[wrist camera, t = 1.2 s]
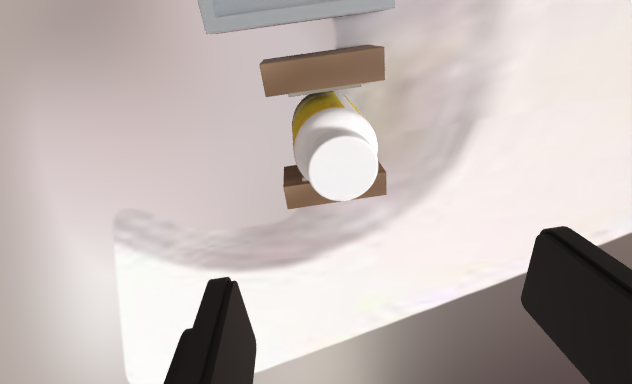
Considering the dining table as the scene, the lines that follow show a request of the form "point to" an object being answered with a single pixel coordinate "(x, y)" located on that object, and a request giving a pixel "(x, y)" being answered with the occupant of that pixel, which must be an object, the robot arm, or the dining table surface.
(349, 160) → the supplement bottle
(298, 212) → the dining table surface
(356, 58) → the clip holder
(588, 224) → the dining table surface
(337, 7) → the tray
